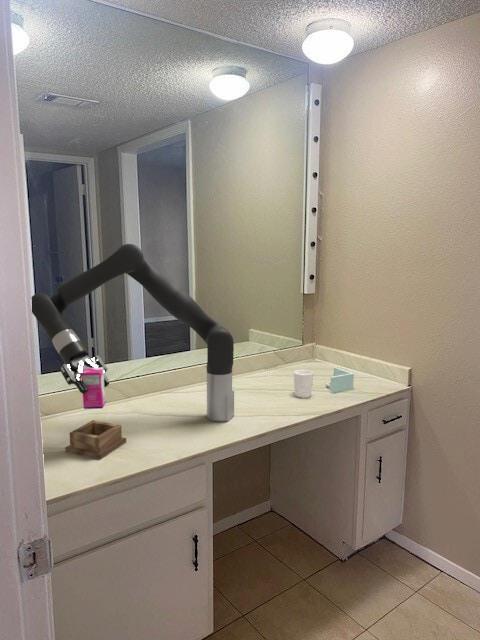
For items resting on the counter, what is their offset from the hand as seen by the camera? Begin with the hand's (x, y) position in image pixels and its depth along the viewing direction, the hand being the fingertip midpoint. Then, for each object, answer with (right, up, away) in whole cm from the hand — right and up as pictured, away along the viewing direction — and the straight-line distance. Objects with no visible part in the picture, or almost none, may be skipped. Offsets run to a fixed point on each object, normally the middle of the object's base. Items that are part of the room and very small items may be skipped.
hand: (96, 388), depth 148 cm
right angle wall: (+85, -9, +66) cm, 108 cm away
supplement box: (-1, -6, +2) cm, 6 cm away
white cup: (+70, -11, +55) cm, 89 cm away
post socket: (-1, -19, +4) cm, 19 cm away
